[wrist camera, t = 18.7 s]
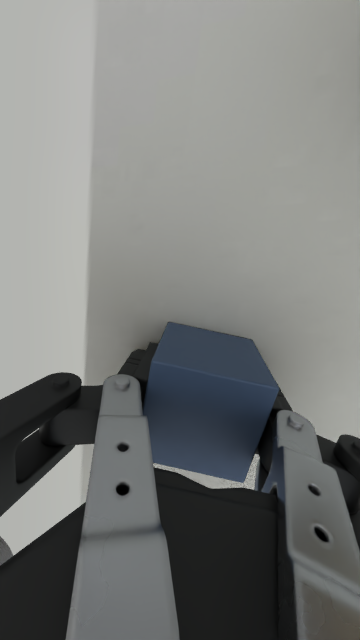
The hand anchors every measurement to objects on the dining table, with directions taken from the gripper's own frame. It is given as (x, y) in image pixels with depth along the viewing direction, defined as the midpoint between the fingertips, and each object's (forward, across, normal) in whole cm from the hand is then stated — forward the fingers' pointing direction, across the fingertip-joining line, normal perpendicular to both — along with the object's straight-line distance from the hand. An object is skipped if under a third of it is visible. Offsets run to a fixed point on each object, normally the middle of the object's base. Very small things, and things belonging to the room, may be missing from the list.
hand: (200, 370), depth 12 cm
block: (0, 0, 0) cm, 0 cm away
